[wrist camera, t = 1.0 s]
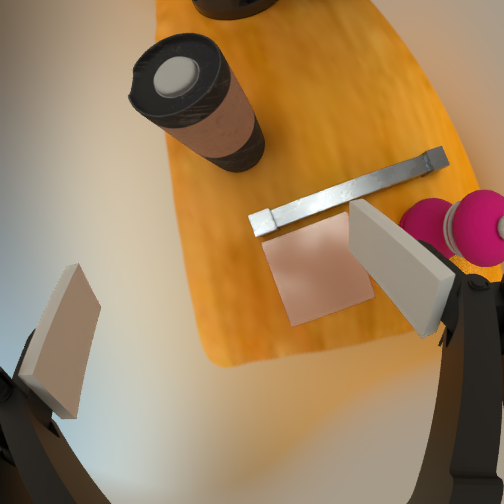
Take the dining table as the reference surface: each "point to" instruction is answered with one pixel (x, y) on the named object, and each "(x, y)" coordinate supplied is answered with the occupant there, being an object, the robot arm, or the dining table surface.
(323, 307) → the end tile
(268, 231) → the handrail
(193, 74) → the travel mug
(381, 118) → the dining table surface
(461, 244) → the pepper mill
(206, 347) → the dining table surface
